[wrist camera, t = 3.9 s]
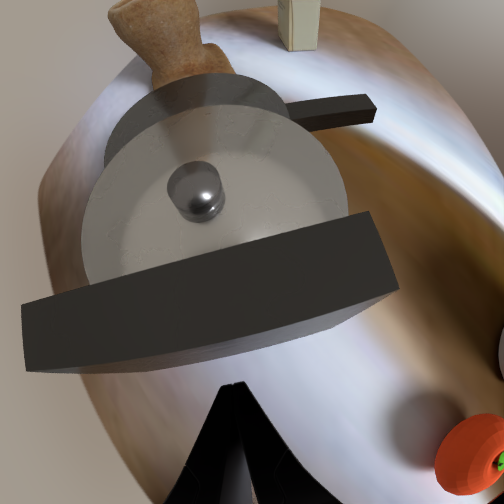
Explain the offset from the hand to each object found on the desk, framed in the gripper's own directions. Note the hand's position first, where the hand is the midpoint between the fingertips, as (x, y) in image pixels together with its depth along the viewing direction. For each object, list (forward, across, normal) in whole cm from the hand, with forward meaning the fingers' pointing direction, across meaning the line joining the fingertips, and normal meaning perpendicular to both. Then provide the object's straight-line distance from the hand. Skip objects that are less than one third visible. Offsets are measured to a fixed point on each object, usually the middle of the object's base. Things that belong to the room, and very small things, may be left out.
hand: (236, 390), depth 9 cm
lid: (+8, 0, -4) cm, 9 cm away
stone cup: (+32, +1, -15) cm, 35 cm away
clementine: (-1, -14, +17) cm, 22 cm away
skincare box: (+36, -16, -19) cm, 44 cm away
